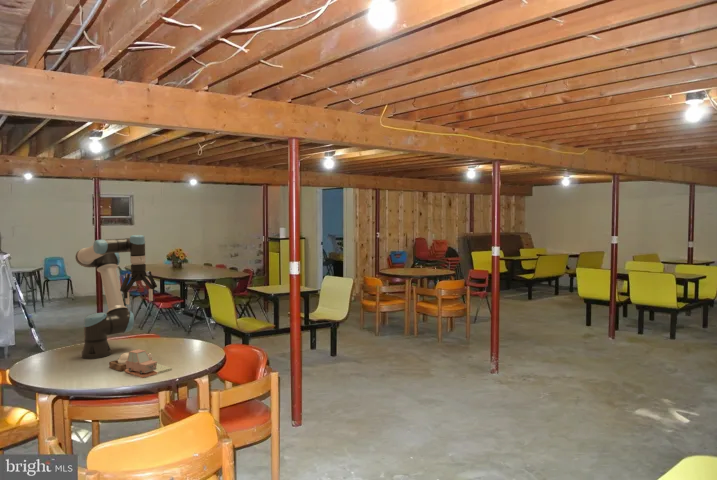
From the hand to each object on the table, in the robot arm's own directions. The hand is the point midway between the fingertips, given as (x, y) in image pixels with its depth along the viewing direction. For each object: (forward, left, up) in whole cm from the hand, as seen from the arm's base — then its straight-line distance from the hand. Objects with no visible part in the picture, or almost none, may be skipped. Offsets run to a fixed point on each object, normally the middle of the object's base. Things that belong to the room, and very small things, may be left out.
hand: (139, 302), depth 296 cm
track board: (+22, -9, -32) cm, 40 cm away
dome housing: (+6, -12, -32) cm, 34 cm away
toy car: (+23, -13, -31) cm, 41 cm away
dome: (+6, -12, -31) cm, 34 cm away
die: (+6, -1, -32) cm, 32 cm away
